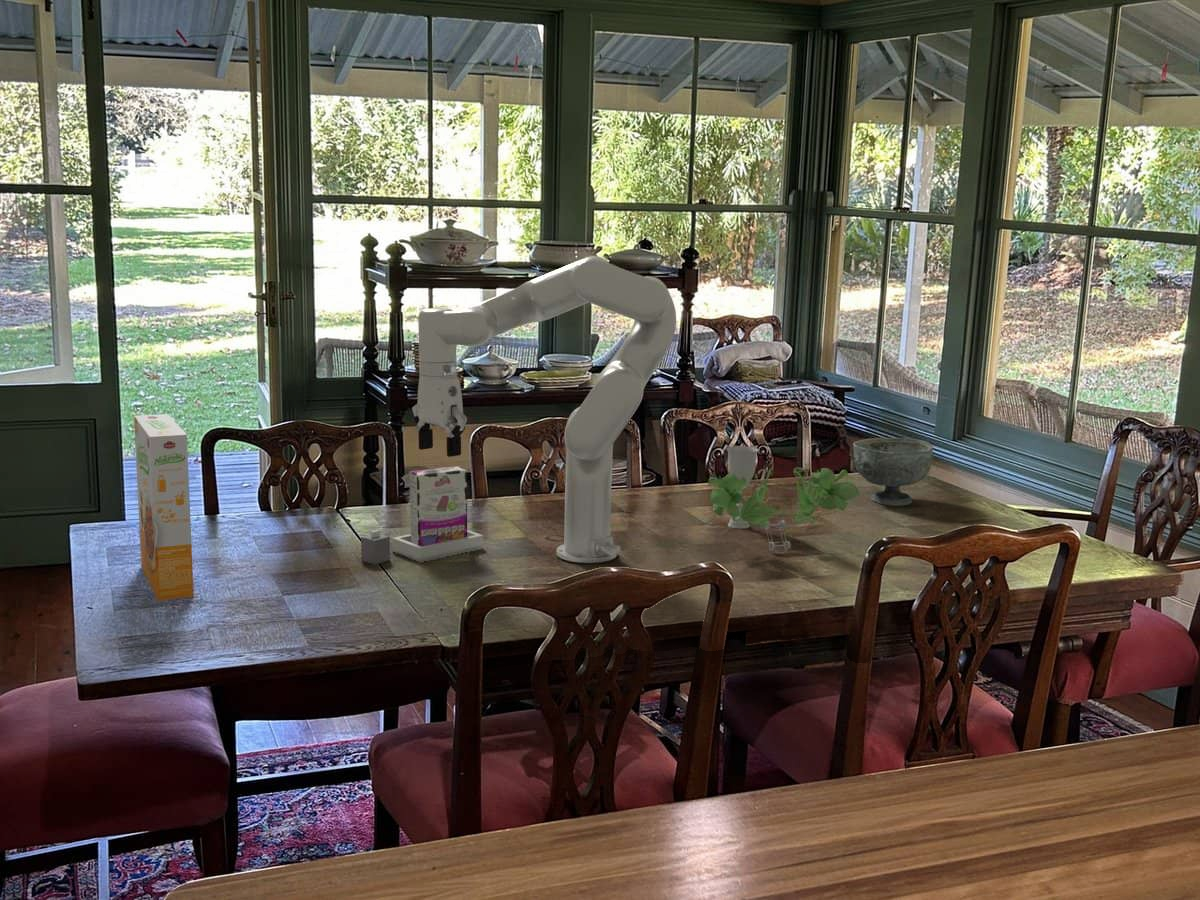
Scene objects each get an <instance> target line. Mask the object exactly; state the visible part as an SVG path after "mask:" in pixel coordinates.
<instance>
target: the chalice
mask: <svg viewBox="0 0 1200 900" xmlns="http://www.w3.org/2000/svg"><path fill="white" fill-rule="evenodd" d="M726 450H727V453H728V462H727V472H728V474H729V473H735V475H736V477H737V478H738V479H739V480H740V479H741V478H742V477H745V479H746V483H747V485H749V484H751V483H750V482H751V481H752V479H753V478H754V477H753V476H754V475H755V472H756V463H757V462H756V461H757V454H758V453H759V448H757V447H752V446H746V445H745V446H743V445H733V446H728V447H726ZM747 485H746V486H747ZM747 487H748V486H747ZM744 489H746V487H745V488H743V489H741V490H739V492H738V493H741V494H742V496H743V497H744V494H743V490H744ZM736 505H737V507H738V509H739V516H738V517H736V519H735V518H734V519H735V521H732V516H731V518H730V519H729V522H728V523H727V526H728V528H729V527H730V526H731V525H732V526H731V527H730V528H733V529H748V528H750V526H751V525H750V523H748V522H746V521H744V520H741V519H740V518H741V517H740V514H741V509H742V507H743V505H744V503H743V502H741V503H738V504H736ZM738 520H741V521H738ZM734 523H735V524H734ZM733 524H734V525H733Z"/></svg>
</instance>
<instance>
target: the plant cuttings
mask: <svg viewBox="0 0 1200 900" xmlns="http://www.w3.org/2000/svg"><path fill="white" fill-rule="evenodd" d="M762 471H765V472H767V473H766V477H765V479H764V480H760V479H758V478H759V477H758V475H760V474H761V472H762ZM802 471H805V469H804V468H803V467H795V468H794V469H793V474H794V476H795V477H796V478H797V479H796V480H795V481H796V490H797V491H796V492H797V493H796V494H797V499H798V500H797V502H796V504H795V508H794V511H795V513H793V515H794V519H795V522H796V523H797V524H795V525H793V526H792V527H791V528H790V529H788V530H787V531H786V532H785V529H786V521H785V520H784V519H782V518H780V516H776V519H777V523H775V524H774V523H773V524H771V523H770V520H769V519H771V518H773V516H774V515H777V514H783V513H786V512H790V510H789V509H785V510H778V509H776V508H772V507H769V504H768V503H766V502H768V501H769V500H770V498H771V496H770V495H771V493H770V491H769V490H768V487H767V483H768V480H769V478H770V476H771V474H772V470H771V469H769V470H766V469H763V468H762V469H760V470H758V472H757V473H754V475H755V476H754V477H755V479H756V480H757V481H758V482H761V483H762V484H761V485H760V486H759V487H757V488H755V489H754V493H752V495H751V496H750V497H749V498H748V499H746V501H745V497H744V495H743V496H742V494H741V493H738V492H739V490H741V489H743V488H745V487H746V488H745V489H746V491H747V490H749V491H750V490H752V488H753V487H754V485H753V484H751V483H749V485H747V483H746V479H745V477H742V478H741V479H740V480H739V479H738V478H737V477H736V475H735V473H729V472H728V473H727V474H726V475H724V473H723V476H724V477H721V476H720V475H719V476H718V477H719V478H717V477H716V476H710V477H709V478H708V480H707V481H708V482H707V483H708V487H710V485H716V486H717V487H716V488H714V489H712V491H711V492H710V503H712V512H713V513H715V514H714V515H713V516H712V517H711V518H710V519H709V520H708V521H706V522H703V523H701V522H700V523H699V525H708V524H710V523H711V522H712V521H713V520H714V518H715V517H716V515H718V516H720V517H723V514H724V509H725V510H726V512H727V514H728V515H730V516H731V517H732V521H735V519H736V517H738V516H739V509H738V507H737V505H736V504H738V503H741V502H742V503H743V502H744V501H745V502H744V503H743V507H742V509H741V514H740V517H741V518H740V519H741V520H744V521H746V522H748V524H751V525H760V526H759V528H761V529H763V530H765V531H766V534H767V539H768V542H769V544H768V547H769V550H770V551H772V553H776V554H778V552H777V551H776V548H777V547H783V548H784V551H783V552H781V554H784V553H786V552H787V551H789V550H791V547H792V545H791V541H790V540H787V538H786V535H785V534H786V533H788V532H789V531H791V530H792V529H793V528H795V527H796V526H797V525H799V524H800V523H801V522H802V521H805V520H806V521H808V524H809V525H810V527H812V526H813V525H816V520H817V513H815V514H814V512H815V511H817V510H818V509H819V507H820V508H822V509H824V510H825V509H826V510H835V509H838V510H841V511H843V512H846V511H845V509H846V508H847V505H848V504H851V503H852V502H849V501H850V500H851V501H852V500H853V499H854V498H856V497H857V496H858V495H859V494H861V493H860V491H859V489H858V488H857V486H856V485H855V484H854V483H853V482H850V481H847V480H843V481H839V480H842V479H843V478H849V473H848V471H847V470H846V469H842V470H841V471H840V472H839V474H838V475H837V476H836V475H835V473H834V471H833V470H831V469H830V468H827V467H822V468H820V471H819V469H818V468H817V470H816V472H810V473H808V471H805V472H806V473H804V475H801V472H802ZM757 474H758V475H757ZM809 474H810V476H811V480H812V481H811V480H808V479H807V478H808V476H809ZM803 476H804V477H803ZM798 479H799V480H801V482H802V486H801V485H800V483H799V481H798ZM837 481H839V482H837ZM836 482H837V483H836ZM746 485H747V486H746ZM748 487H750V488H748ZM810 488H811V490H810ZM743 490H744V489H743ZM766 493H768V495H769V496H768V498H767V499H766V500H764V499H765V496H766ZM825 497H826V498H825ZM761 504H763V505H761ZM764 505H765V506H764ZM798 505H799V507H798ZM818 506H819V507H818ZM796 508H797V509H796ZM813 514H814V515H813ZM734 518H735V519H734ZM779 519H780V521H779ZM741 520H738V521H741ZM734 524H735V523H734ZM734 524H733V525H734ZM731 526H732V525H731ZM731 526H730V527H729V526H728V527H727V528H726V529H725V530H723V531H722V532H721V533H720V534H719V535H718V536H717V538H720V536H722V535H723V534H724V533H725V532H727V531H728V530H729V529H730V528H732V527H731ZM774 526H775V527H776V526H778V528H779V529H778V528H777V529H776V528H775V529H774V531H778V530H779V531H780V535H781V540H782V544H778V543H780V541H774V540H773V538H772V537H773V536H772V532H771V527H774ZM782 530H783V534H782ZM768 532H769V533H768ZM769 534H770V535H769ZM783 535H784V539H783ZM769 536H770V537H769ZM770 539H771V541H770ZM784 540H785V541H784ZM776 543H777V544H776Z"/></svg>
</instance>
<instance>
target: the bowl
mask: <svg viewBox="0 0 1200 900" xmlns="http://www.w3.org/2000/svg"><path fill="white" fill-rule="evenodd" d="M852 444H853V459H854V460H853V462H854V464H855V465H854V466H855V468H856V470H857V473H858V474H859V475H861V477H862V478H863V479H865V480H866V481H867V482H868V483H871V484H873V485H875V486H885V488H884V490H879V491H875V492H874V493H872V495H871V497H870V499H871V500H872V501H873V502H875V503H877V504H881V505H885V506H892V507H893V506H894V507H895V506H898V507H900V506H908V505H911V504H912V503H913V499H912V497H911V495H910V494H907V493H906V492H903V491H901V490H900V487H903V486H910V485H911V486H912V485H914V484H917V483H919V482H921V481H923V480H924V479H925V478H926V477H927V476H928V474H929V473H930V471H931V469H932V468H931V467H932V463H933V457H934V452H933V448H934V447H933V444H932V443H929V441H926V440H922V439H915V438H906V437H904V438H903V437H887V438H886V437H885V438H884V437H877V438H867V439H861V440H857V441H855V442H853V443H852Z"/></svg>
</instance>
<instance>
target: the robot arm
mask: <svg viewBox="0 0 1200 900" xmlns="http://www.w3.org/2000/svg"><path fill="white" fill-rule="evenodd" d="M588 303H590V304H592V305H594V306H596V307H599V308H602V309H605V310H608V311H610V312H613V313H615V314H618V315H621V316H624V317H626V318H629V319H631V320H634V321H633V325H632V326H631V327H632V328H631V329H630V331H629V332H628V334H627V335H626V337H625V339H624V340H623V342H622V343H621V346H620V347H619V349H618V350H617V352H616V353H615V354H614V356H613V357H612V358H611V360H610V361H609V363H608V364H607V365H606V366H605V367H604V368H603V369H602V371H601V372H600V373H599V374H598V377H597V378H596V383H595V384H594V385H593V387H592V388H591V390H590V392H589V393H588V394H587V396H586V397H585V398H584V400H583V402H582V403H581V405H580V406H579V407H577V408H575V409H574V410H573V411H572V412H571V414H570V415H569V417H568V419H567V421H566V425H565V429H564V435H563V436H564V439H563V440H564V444H565V447H566V451H565V452H566V453H565V455H566V456H565V483H564V484H565V485H564V533H563V538H564V539H563V544H561V545H559V546H557V548H556V556H557V557H558V558H560V559H561V560H565V561H567V562H573V563H580V564H597V563H598V564H599V563H605V562H609V561H612V560H614V559H616V558H617V555H618V553H620V552H621V546H619V545H616V544H614V536H611V513H612V512H611V511H612V510H611V508H612V506H611V505H612V482H613V481H612V479H613V453H614V450H613V449H614V443H615V441H616V440H617V439H618V437H619V436H620V435H621V433H622V432H623V430H624V428H626V426H627V424H628V423H629V421H630V420H631V418H632V417H633V415H634V414H635V412H636V411H637V410H638V407H639V406H640V404H641V402H642V400H643V396H644V389H645V387H646V385H647V383H648V382H649V381H650V378H652V376H653V374H654V373H655V372H656V370H657V369H658V367H659V365H660V364H661V362H662V360H663V359H664V357H665V356H666V354H667V352H668V350H669V349H670V347H671V345H672V343H673V340H674V336H675V332H676V326H677V311H676V307H675V303H674V300H673V298H672V295H671V293H670V291H669V290H668V287H667V285H666V284H665V283H664V282H663V281H662V280H661V279H660V278H657V277H656V276H651V275H650V276H649V275H646V276H643V275H641V274H638V273H634V272H632V271H630V270H626V269H624V268H621V267H619V266H616V265H615V264H611V263H610V262H609V261H608V260H606V259H605V258H603V257H601V256H598V255H591V256H587V257H584V258H582V259H579V260H576V261H574V262H572V263H570V264H567V265H565V266H562V267H560V268H558V269H555V270H552V271H550V272H547V273H545V274H544V275H543V274H542V275H540V276H538V277H536V278H533V279H530V280H529V281H526V282H524V283H522V284H521V285H518V287H515V288H513V289H511V290H509V291H507V292H504V293H502V294H499V295H497V296H495V297H493V298H490V299H487V300H484V301H482V302H479V303H477V304H475V305H472V306H470V307H468V308H467V309H463V310H452V309H451V308H446V307H431V308H423V309H422V310H420V311H419V314H418V317H417V319H418V325H417V326H418V358H419V359H418V360H419V361H418V363H419V365H418V366H419V367H418V368H419V370H418V371H419V379H418V386H417V403H416V404H415V405H414V406H412V409H411V410H412V413H413V416H414V417H413V418H414V422H415V424H416V430H417V431H418V449H419V450H428V449H433V447H434V439H433V437H434V436H433V435H434V434H433V428H431V427H432V426H437V427H441V428H444V429H445V431H446V433H447V435H448V437H447V436H446V456H447V457H449V458H452V457H457V456H461V455H462V437H463V434H464V431H465V429H466V424H467V421H468V417H467V416H466V415H465V413H464V408H463V397H462V395H463V394H462V389H461V382H460V378H459V376H458V374H457V373H458V371H457V369H458V367H457V365H458V364H457V360H458V359H457V345H459V346H463V347H471V348H473V347H480V346H482V345H484V344H486V342H488V341H489V340H490V339H492V338H493V337H496V336H498V335H502V334H504V333H506V332H508V331H511V330H514V329H516V328H519V327H521V326H522V327H523V326H524V325H527V324H532V323H540V322H544V321H547V320H551V319H553V318H554V317H557V316H559V315H562V314H564V313H567V312H569V311H572V310H574V309H577V308H578V307H582V306H584V305H587V304H588ZM452 428H453V429H452Z"/></svg>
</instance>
